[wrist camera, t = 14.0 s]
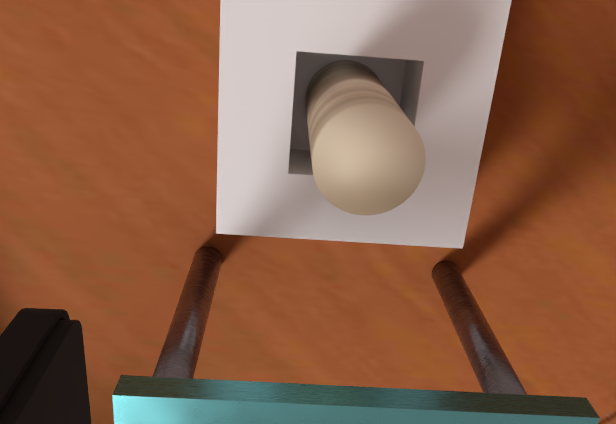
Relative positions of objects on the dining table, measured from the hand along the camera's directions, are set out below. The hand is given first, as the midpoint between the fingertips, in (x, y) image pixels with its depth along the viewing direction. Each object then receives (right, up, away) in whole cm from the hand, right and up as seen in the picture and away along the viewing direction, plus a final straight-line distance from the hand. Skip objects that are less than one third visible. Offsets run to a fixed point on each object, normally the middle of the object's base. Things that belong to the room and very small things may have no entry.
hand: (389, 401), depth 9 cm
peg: (+1, +9, +21) cm, 23 cm away
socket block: (+1, +9, +22) cm, 24 cm away
